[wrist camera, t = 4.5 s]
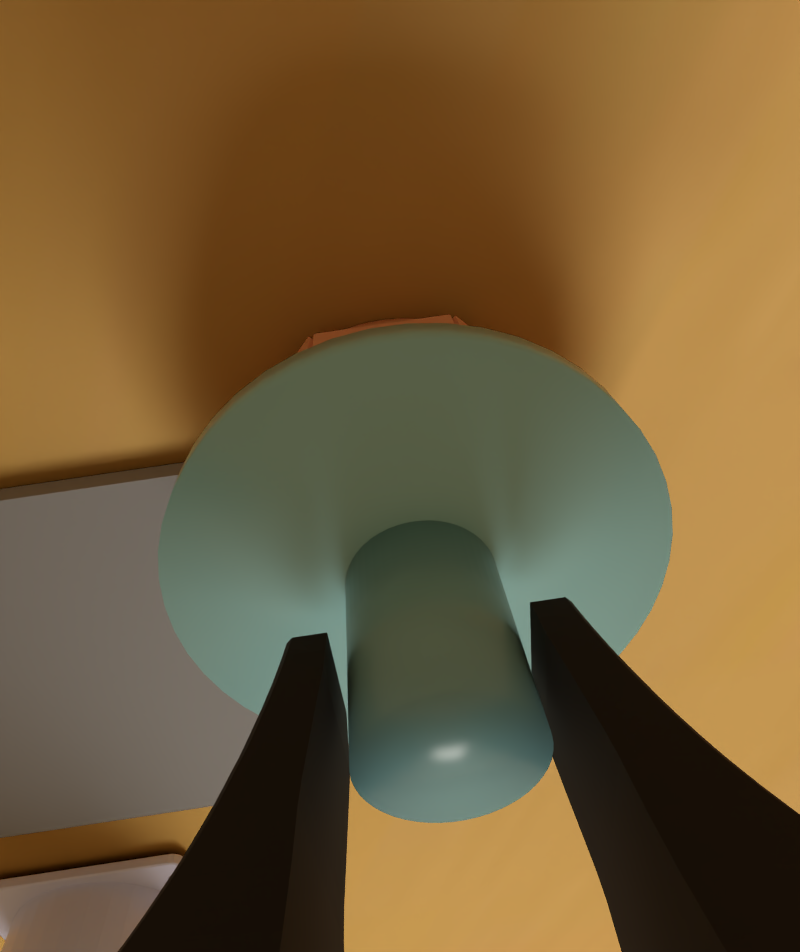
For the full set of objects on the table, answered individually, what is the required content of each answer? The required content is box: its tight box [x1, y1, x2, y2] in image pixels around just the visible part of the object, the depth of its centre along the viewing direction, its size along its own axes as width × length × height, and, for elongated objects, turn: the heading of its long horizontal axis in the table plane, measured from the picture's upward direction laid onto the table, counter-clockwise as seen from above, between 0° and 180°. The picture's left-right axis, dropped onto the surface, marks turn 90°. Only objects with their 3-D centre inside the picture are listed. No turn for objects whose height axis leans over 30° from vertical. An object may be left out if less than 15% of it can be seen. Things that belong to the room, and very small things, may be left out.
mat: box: [0, 462, 259, 838], centre depth 20 cm, size 13×12×1 cm
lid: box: [158, 323, 673, 823], centre depth 12 cm, size 10×10×5 cm
